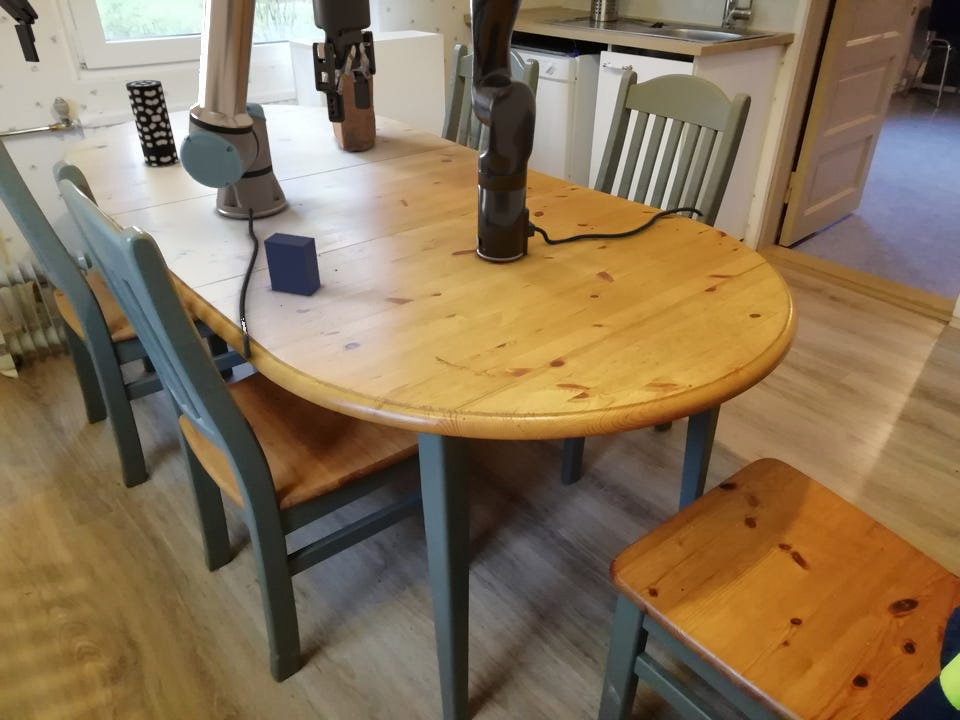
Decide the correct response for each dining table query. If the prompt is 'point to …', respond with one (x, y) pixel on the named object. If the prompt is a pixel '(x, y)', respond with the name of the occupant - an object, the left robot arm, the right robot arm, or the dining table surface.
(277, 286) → the block
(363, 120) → the stone
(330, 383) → the dining table surface
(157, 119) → the black white spotted cylinder
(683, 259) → the dining table surface
